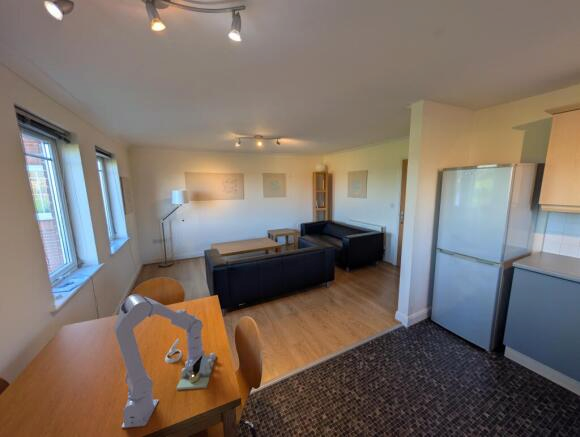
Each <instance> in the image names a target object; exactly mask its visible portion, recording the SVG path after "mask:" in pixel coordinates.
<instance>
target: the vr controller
mask: <svg viewBox="0 0 580 437" xmlns="http://www.w3.org/2000/svg"><path fill="white" fill-rule="evenodd" d="M179 343H180V339H179V338H177V339H175V342H174V343H173V344H172V345H171V347H170V349H169V351H168V352H167V354H166V356H165V358H164V361H165V363H167V364H173V363H175V362H177V361H179V360H180V359H182V357H183V352H182V351H181V349H176V347H177V346H178V345H179ZM176 353H178V355H177V356H174V357H172V356H173V355H174V354H176ZM168 356H169V357H168ZM170 357H172V358H170Z"/></svg>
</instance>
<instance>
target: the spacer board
mask: <svg viewBox="0 0 580 437" xmlns="http://www.w3.org/2000/svg"><path fill="white" fill-rule="evenodd" d="M216 359H217V354H215V352H211V353H209V355H203V357H202V360H201V365H200V370H199V374H200V379H199V381H198V382H196V383H190V379H189V376H190V374H191V373H193V370H190V371H187V365H188V362H187V361H188V360H186V361H185V362H184V366H185V367H183V368H182V369H181V378H180V380H179V382H178V383H177V386H176V391H181V390H193V389H205V388H208V384H209V380H210V377H211V375H212V371H213V368H214V365H215V362H216Z"/></svg>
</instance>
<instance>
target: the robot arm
mask: <svg viewBox="0 0 580 437" xmlns="http://www.w3.org/2000/svg"><path fill="white" fill-rule="evenodd" d="M155 315H158V316H160V317H163V318H166V319H168V320H170V324H171V325H174V327H177V328H180V329H183V330H185V331H186V346H187V347H186V348H187V360H186V361H187V362H188V365H187V371H190V370H193V372H195V371H198V372H199V370H200V365H201V360H202V357H203V356H205V354H206V351H205V350H203V345H204V342H203V340H202V330H203V329H204V328H203V327H204V323H203V321H202V320H200V318H198V317H197V316H196V315H195V314H193V313H192V314H191V313H188V311H187V310H186V309H178V310H173V309H172V308H169V307H168V306H167V305H166V306H165V305H164V304H163V303H160V302H158V301H156V300H154V299H152V298H149V297H147V296H144V297H143V295H141V294H138V293H136V294H131V295H129V296H128V297H126V299H125V300H124V301H123V302H122V303H121V304H120V305H119V313H118V314H117V318H116V320H115V323H114V324H113V330H114V331H113V332H114V335H115V338H116V340H117V345H118V347H119V351H120V353H121V356H122V360H123V362H124V367H125V369H126V370H125V371H126V375H125V376H126V377H125V383H126V384H127V387H128V388H129V389H128V391H127V401H126V405H125V407H124V408H123V410H122V419H123V423H122V425H121V428H122V429H125V428H134V427H135V428H136V427H145V426H146V425H147V424H148V422H149V420H150V418H151V416H152V414H153V412H154V410H155V408H156V407H157V405H158V403H159V399H156V398H155V399H154V395H153V394H154V393H153V386H154V381H153V380H152V379H151V377H150V376H149V374H148V372H147V371H146V368H145V366H144V362H143V359H142V357H141V352H140V350H139V346H138V342H137V339H136V335H135V332H134V329H135V328H136V327H137V326H138V325H139V324H141V322H143V321H144V320H146V318H147V317H149V318H151V317H153V316H155Z"/></svg>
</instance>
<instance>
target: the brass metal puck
mask: <svg viewBox="0 0 580 437" xmlns="http://www.w3.org/2000/svg"><path fill="white" fill-rule="evenodd" d="M189 379H190V383H196V382H198V381H199V379H200V374H199V372H198V371H195V372H193V373H191V374H190V376H189Z"/></svg>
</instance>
